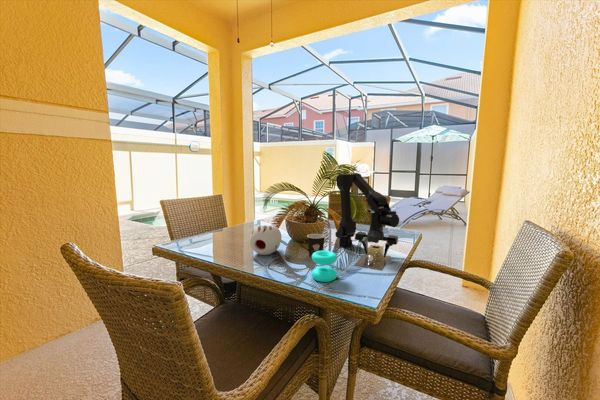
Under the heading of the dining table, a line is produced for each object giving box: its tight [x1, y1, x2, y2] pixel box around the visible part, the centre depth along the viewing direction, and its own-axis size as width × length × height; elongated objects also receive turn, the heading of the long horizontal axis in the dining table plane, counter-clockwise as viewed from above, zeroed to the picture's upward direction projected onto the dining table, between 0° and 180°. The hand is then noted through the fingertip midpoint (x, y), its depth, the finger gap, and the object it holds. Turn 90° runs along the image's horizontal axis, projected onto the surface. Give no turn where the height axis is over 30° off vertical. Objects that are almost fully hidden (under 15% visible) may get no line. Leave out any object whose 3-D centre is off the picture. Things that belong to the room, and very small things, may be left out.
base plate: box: [353, 252, 391, 271], centre depth 124 cm, size 20×12×6 cm, turn 153°
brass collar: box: [368, 244, 385, 261], centre depth 128 cm, size 6×6×5 cm
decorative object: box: [249, 225, 282, 256], centre depth 139 cm, size 16×19×15 cm
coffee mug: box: [298, 233, 325, 258], centre depth 135 cm, size 12×9×10 cm
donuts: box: [311, 250, 338, 283], centre depth 109 cm, size 10×10×10 cm
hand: (375, 255), depth 128 cm, fingers open, 8 cm apart
